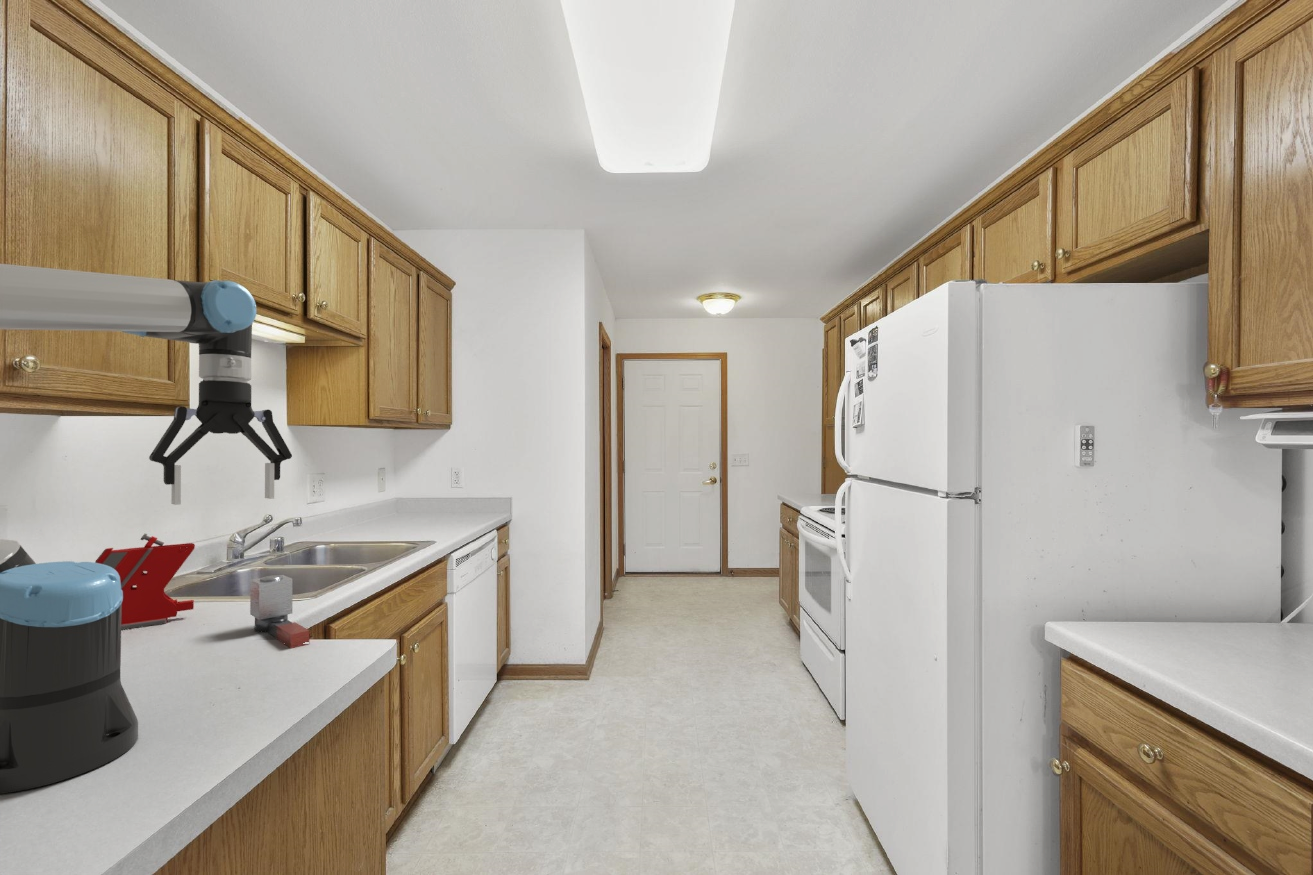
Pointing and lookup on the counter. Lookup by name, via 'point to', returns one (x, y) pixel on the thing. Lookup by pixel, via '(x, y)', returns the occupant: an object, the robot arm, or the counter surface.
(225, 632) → the counter surface
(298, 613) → the counter surface
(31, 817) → the counter surface
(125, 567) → the tool
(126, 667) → the counter surface
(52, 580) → the robot arm
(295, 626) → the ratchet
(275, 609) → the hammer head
